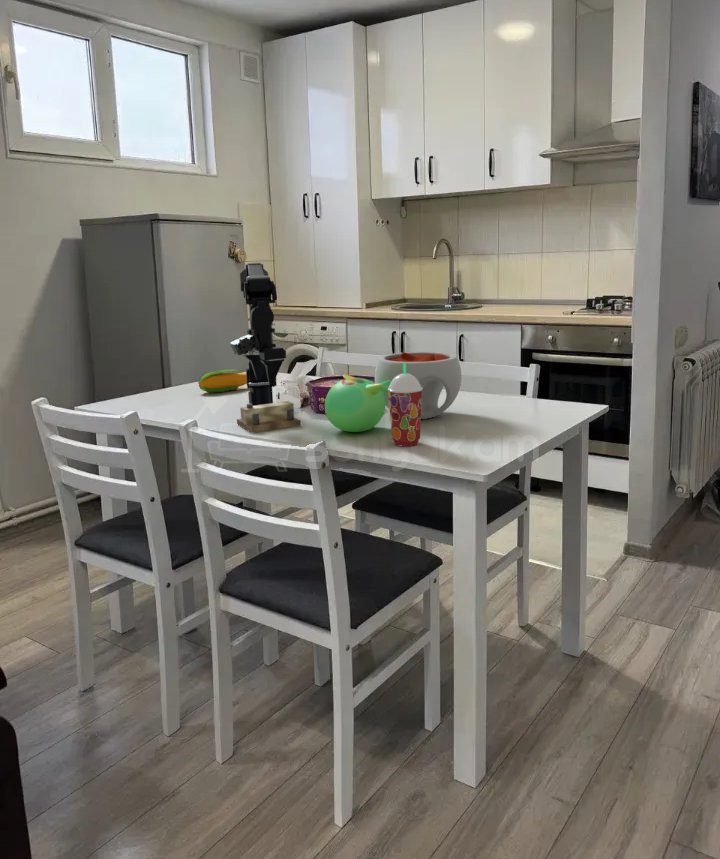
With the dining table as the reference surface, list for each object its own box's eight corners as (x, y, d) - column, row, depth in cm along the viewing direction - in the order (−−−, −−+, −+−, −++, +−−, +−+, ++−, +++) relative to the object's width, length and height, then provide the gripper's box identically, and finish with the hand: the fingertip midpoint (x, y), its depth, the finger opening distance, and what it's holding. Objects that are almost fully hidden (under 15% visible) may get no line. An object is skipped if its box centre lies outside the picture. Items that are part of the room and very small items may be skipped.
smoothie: (421, 438, 190) (420, 358, 185) (425, 447, 182) (424, 364, 177) (387, 440, 190) (385, 360, 185) (390, 448, 181) (388, 365, 177)
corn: (193, 370, 261) (247, 364, 271) (195, 392, 263) (248, 385, 273) (202, 374, 255) (256, 368, 265) (203, 397, 257) (257, 389, 267)
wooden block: (288, 415, 215) (287, 397, 214) (294, 417, 212) (293, 399, 210) (241, 421, 209) (240, 403, 207) (246, 424, 205) (245, 406, 204)
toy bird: (333, 422, 211) (331, 370, 207) (394, 423, 208) (392, 369, 204) (319, 438, 193) (316, 381, 190) (385, 439, 191) (384, 381, 187)
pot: (400, 405, 231) (399, 346, 227) (474, 411, 219) (475, 349, 215) (360, 421, 211) (358, 357, 207) (439, 429, 199) (438, 361, 195)
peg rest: (283, 417, 219) (282, 402, 218) (300, 425, 208) (299, 409, 207) (237, 424, 212) (236, 408, 211) (252, 432, 202) (251, 416, 201)
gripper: (221, 324, 209) (225, 380, 212) (244, 329, 193) (248, 390, 196) (259, 321, 214) (262, 376, 217) (285, 326, 198) (288, 385, 201)
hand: (264, 382), depth 208 cm, fingers open, 9 cm apart
